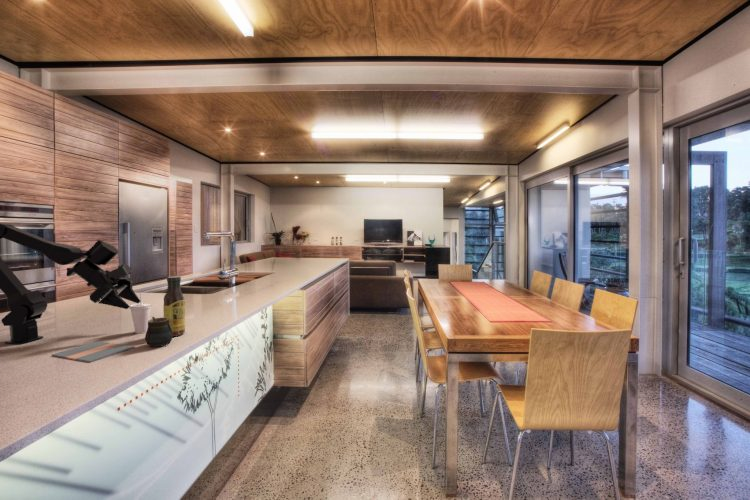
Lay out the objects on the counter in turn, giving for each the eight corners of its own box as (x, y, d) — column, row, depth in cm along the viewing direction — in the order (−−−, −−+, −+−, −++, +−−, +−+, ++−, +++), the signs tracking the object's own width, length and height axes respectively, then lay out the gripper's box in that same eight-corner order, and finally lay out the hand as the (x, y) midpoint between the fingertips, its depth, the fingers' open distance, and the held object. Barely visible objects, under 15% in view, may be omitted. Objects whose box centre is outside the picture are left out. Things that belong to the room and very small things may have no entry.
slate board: (52, 355, 96) (51, 354, 96) (98, 342, 107) (98, 341, 107) (90, 362, 91) (90, 361, 91) (134, 347, 102) (134, 346, 102)
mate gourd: (174, 339, 109) (173, 309, 109) (171, 347, 102) (170, 315, 102) (148, 342, 106) (147, 311, 106) (143, 350, 99) (141, 317, 99)
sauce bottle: (175, 338, 111) (173, 278, 110) (159, 337, 112) (156, 277, 111) (190, 332, 117) (188, 275, 116) (174, 331, 118) (172, 275, 117)
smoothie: (135, 335, 113) (133, 294, 113) (127, 332, 117) (125, 293, 116) (156, 331, 119) (154, 291, 118) (147, 328, 122) (145, 290, 121)
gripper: (98, 260, 105) (141, 292, 109) (125, 255, 123) (161, 283, 127) (70, 286, 104) (114, 318, 107) (101, 278, 122) (138, 305, 125)
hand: (134, 305), depth 117 cm, fingers open, 9 cm apart
